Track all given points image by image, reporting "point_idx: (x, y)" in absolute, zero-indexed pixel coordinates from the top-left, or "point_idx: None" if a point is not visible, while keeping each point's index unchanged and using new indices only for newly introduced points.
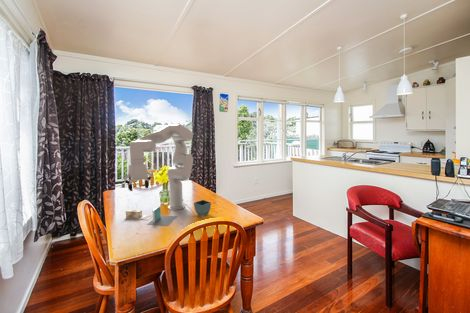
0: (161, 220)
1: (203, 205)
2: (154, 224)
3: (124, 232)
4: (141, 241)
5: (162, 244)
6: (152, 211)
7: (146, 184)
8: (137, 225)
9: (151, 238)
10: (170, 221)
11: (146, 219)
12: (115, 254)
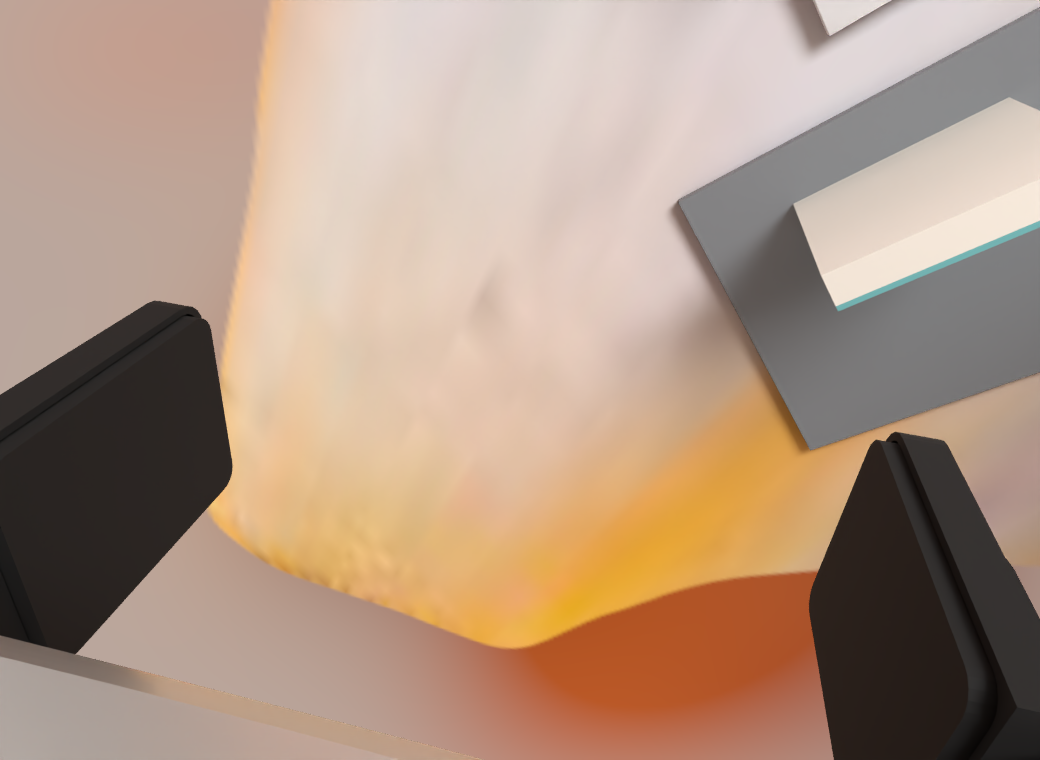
0: None
1: None
2: (752, 283)
3: (391, 159)
4: (436, 475)
5: (527, 628)
6: (818, 267)
7: (850, 696)
8: (606, 80)
9: (524, 501)
10: (953, 377)
11: (819, 5)
12: None
